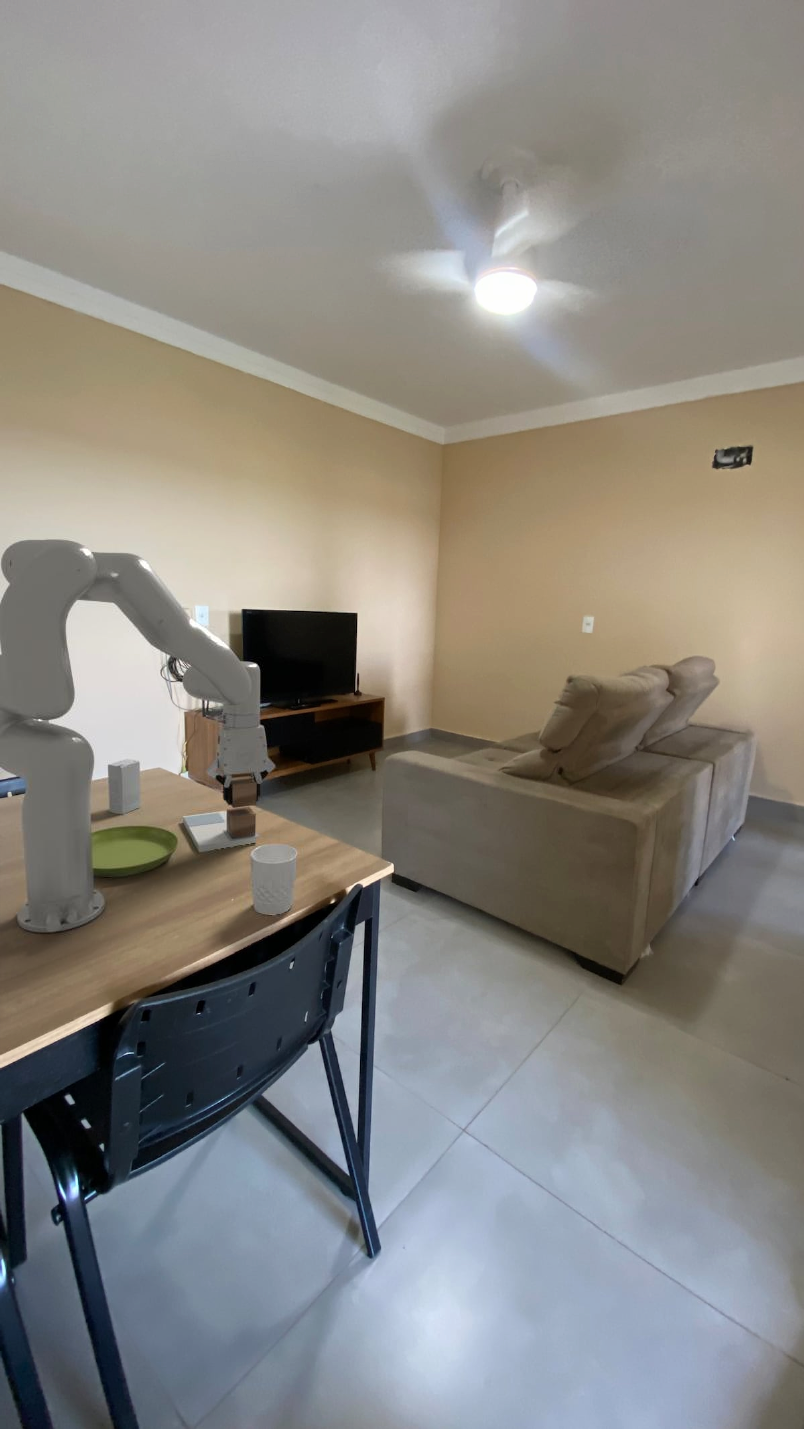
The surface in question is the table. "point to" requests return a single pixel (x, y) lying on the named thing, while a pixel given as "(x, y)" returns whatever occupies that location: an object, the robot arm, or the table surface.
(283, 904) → the white cup
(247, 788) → the block
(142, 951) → the table surface
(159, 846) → the green plate
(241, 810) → the block
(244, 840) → the build board
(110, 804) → the skincare box
